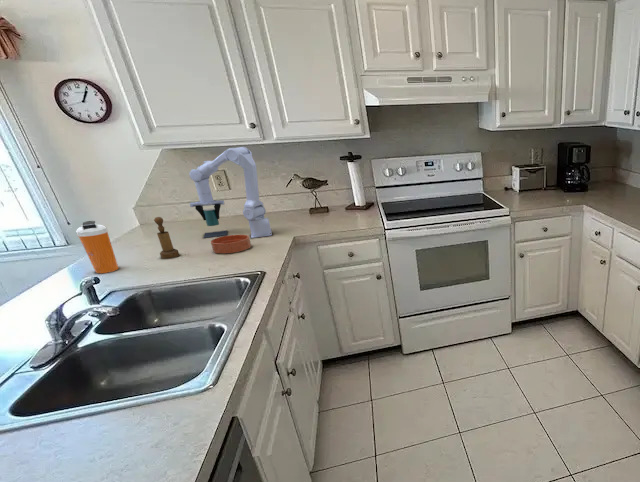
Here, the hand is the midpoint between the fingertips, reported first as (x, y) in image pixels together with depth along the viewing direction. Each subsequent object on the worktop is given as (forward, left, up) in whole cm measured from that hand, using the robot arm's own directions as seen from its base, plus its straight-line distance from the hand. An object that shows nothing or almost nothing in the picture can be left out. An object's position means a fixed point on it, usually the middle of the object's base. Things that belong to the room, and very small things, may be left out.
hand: (211, 219), depth 213 cm
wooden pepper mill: (+16, +32, -8) cm, 37 cm away
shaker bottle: (+36, +40, -8) cm, 54 cm away
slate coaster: (0, 0, -8) cm, 8 cm away
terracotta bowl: (-8, +34, -8) cm, 36 cm away
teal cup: (0, 0, -3) cm, 3 cm away
